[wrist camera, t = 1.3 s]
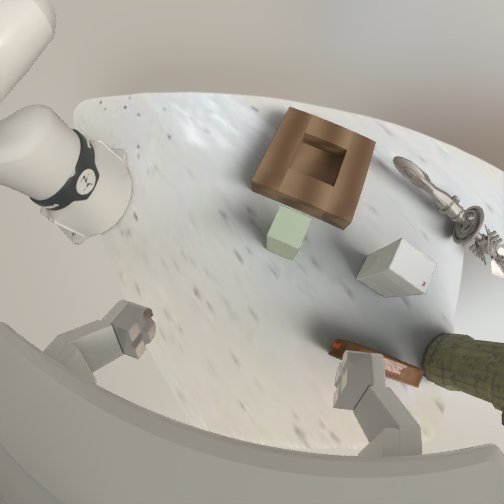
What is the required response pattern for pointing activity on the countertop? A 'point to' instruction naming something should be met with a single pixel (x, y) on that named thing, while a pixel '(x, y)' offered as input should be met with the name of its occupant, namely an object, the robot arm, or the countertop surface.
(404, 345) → the countertop surface
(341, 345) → the tin
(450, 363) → the thermos
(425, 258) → the skincare box
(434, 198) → the spaceship
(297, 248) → the green block
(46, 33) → the robot arm
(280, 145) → the walnut holder
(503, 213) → the countertop surface
